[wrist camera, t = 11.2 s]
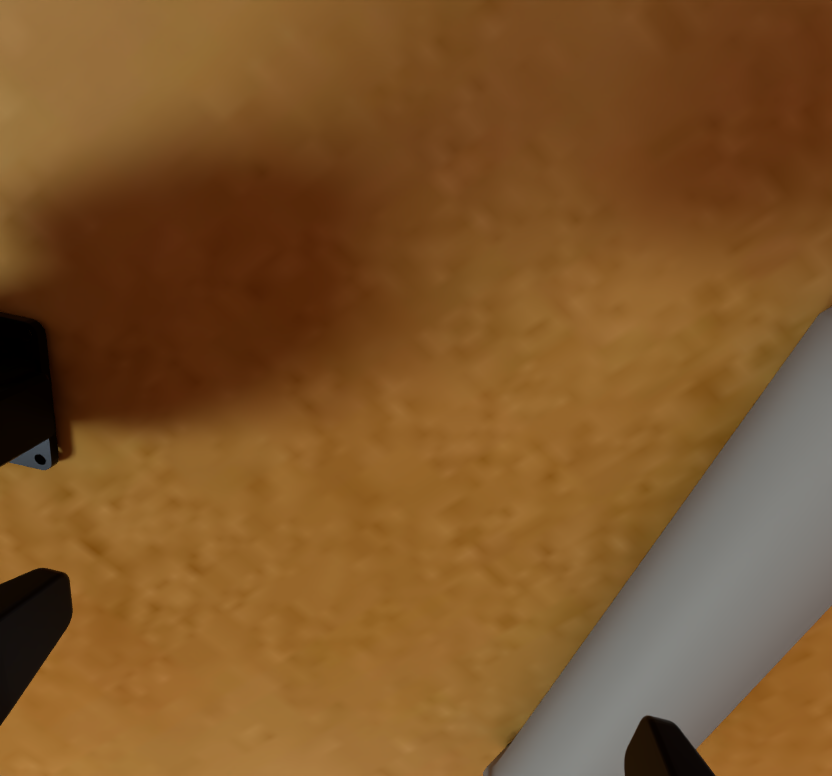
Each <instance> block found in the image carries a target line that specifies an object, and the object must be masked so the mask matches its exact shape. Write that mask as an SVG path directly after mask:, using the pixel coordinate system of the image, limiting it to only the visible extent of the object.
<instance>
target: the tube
mask: <svg viewBox="0 0 832 776" xmlns="http://www.w3.org/2000/svg"><path fill="white" fill-rule="evenodd" d="M831 605H832V307H830V308H828V309H827V310H825V311H823V312H822V313H820V314H819V315H818V316H817V318H816V319H815V321H814V322H813V323H812V325H811V326H810V328H809V329H808V330H807V332H806V333H805V334H804V336H803V337H802V339H801V340H800V341H799V343H798V344H797V346H796V347H795V348H794V350H793V351H792V353H791V354H790V355H789V357H788V358H787V360H786V361H785V362H784V364H783V365H782V367H781V368H780V369H779V371H778V372H777V374H776V375H775V376H774V378H773V379H772V380H771V382H770V383H769V385H768V386H767V387H766V389H765V390H764V392H763V393H762V394H761V396H760V397H759V399H758V400H757V401H756V403H755V404H754V406H753V407H752V408H751V410H750V411H749V413H748V414H747V415H746V417H745V418H744V419H743V421H742V422H741V424H740V425H739V426H738V428H737V429H736V431H735V432H734V433H733V435H732V436H731V438H730V439H729V440H728V442H727V443H726V445H725V446H724V447H723V449H722V450H721V452H720V453H719V454H718V456H717V457H716V458H715V460H714V461H713V463H712V464H711V465H710V467H709V468H708V470H707V471H706V472H705V474H704V475H703V477H702V478H701V479H700V481H699V482H698V484H697V485H696V486H695V488H694V489H693V491H692V492H691V493H690V495H689V496H688V497H687V499H686V500H685V502H684V503H683V504H682V506H681V507H680V509H679V510H678V511H677V513H676V514H675V516H674V517H673V518H672V520H671V521H670V523H669V524H668V525H667V527H666V528H665V530H664V531H663V532H662V534H661V535H660V536H659V538H658V539H657V541H656V542H655V543H654V545H653V546H652V548H651V549H650V550H649V552H648V553H647V555H646V556H645V557H644V559H643V560H642V562H641V563H640V564H639V566H638V567H637V569H636V570H635V571H634V573H633V574H632V575H631V577H630V578H629V580H628V581H627V582H626V584H625V585H624V587H623V588H622V589H621V591H620V592H619V594H618V595H617V596H616V598H615V599H614V601H613V602H612V603H611V605H610V606H609V608H608V609H607V610H606V612H605V613H604V614H603V616H602V617H601V619H600V620H599V621H598V623H597V624H596V626H595V627H594V628H593V630H592V631H591V633H590V634H589V635H588V637H587V638H586V640H585V641H584V642H583V644H582V645H581V647H580V648H579V649H578V651H577V652H576V653H575V655H574V656H573V658H572V659H571V660H570V662H569V663H568V665H567V666H566V667H565V669H564V670H563V672H562V673H561V674H560V676H559V677H558V679H557V680H556V681H555V683H554V684H553V686H552V687H551V688H550V690H549V691H548V692H547V694H546V695H545V697H544V698H543V699H542V701H541V702H540V704H539V705H538V706H537V708H536V709H535V711H534V712H533V713H532V715H531V716H530V718H529V719H528V720H527V722H526V723H525V725H524V726H523V727H522V729H521V730H520V731H519V733H518V734H517V736H516V737H515V738H514V740H513V741H512V743H511V744H508V745H507V747H506V748H505V749H504V750H503V751H502V752H501V753H500V754H499V755H498V756H497V757H496V758H495V759H494V760H493V761H492V762H491V763H490V764H489V765H488V766H487V768H486V769H485V770H484V772H483V776H625V772H624V758H625V752H626V749H627V747H628V745H629V743H630V741H631V739H632V737H633V735H634V733H635V731H636V729H637V727H638V724H639V722H640V721H641V719H642V718H643V717H644V716H646V715H650V716H654V717H658V718H662V719H666V720H670V721H672V722H674V723H675V724H676V725H677V726H678V727H679V728H680V729H681V731H682V732H683V733H684V735H685V736H686V737H687V739H688V740H689V741H690V743H691V744H692V745H693V747H694V748H695V749H696V748H697V747H698V746H699V745H700V744H701V743H702V742H703V741H704V740H705V739H706V738H707V737H708V736H709V735H710V734H711V733H712V732H713V730H714V729H715V728H716V727H717V726H718V725H719V724H720V723H721V722H722V721H723V720H724V719H725V718H726V717H727V716H728V715H729V714H730V712H731V711H732V710H733V709H734V708H735V707H736V706H737V705H738V704H739V703H740V702H741V701H742V700H743V699H744V698H745V697H746V696H747V694H748V693H749V692H750V691H751V690H752V689H753V688H754V687H755V686H756V685H757V684H758V683H759V682H760V681H761V680H762V679H763V677H764V676H765V675H766V674H767V673H768V672H769V671H770V670H771V669H772V668H773V667H774V666H775V665H776V664H777V663H778V662H779V661H780V659H781V658H782V657H783V656H784V655H785V654H786V653H787V652H788V651H789V650H790V649H791V648H792V647H793V646H794V645H795V644H796V643H797V641H798V640H799V639H800V638H801V637H802V636H803V635H804V634H805V633H806V632H807V631H808V630H809V629H810V628H811V627H812V626H813V625H814V623H815V622H816V621H817V620H818V619H819V618H820V617H821V616H822V615H823V614H824V613H825V612H826V611H827V610H828V609H829V608H830V607H831Z"/></svg>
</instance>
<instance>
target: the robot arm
mask: <svg viewBox="0 0 832 776" xmlns="http://www.w3.org/2000/svg"><path fill="white" fill-rule="evenodd" d="M27 329H28V330H29V331H30V332H31V335H32V336H30V334H29V333H28V330H27ZM58 459H59V455H58V446H57V436H56V427H55V417H54V407H53V398H52V388H51V378H50V369H49V359H48V350H47V340H46V333H45V329H44V328H43V326H42V325H41V324H40V323H39V322H38V321H36V320H34V319H31V318H26V317H21V316H17V315H12V314H7V313H3V312H0V467H1V466H3V465H5V464H6V463H8V462H10V463H14V464H19V465H23V466H27V467H32V468H36V469H40V470H47V469H49V468H51V467H52V466H54V465H55V464H57V462H58ZM72 613H73V608H72V598H71V589H70V580H69V577H68V576H67V574H66V573H64V572H60V571H56V570H52V569H48V568H38V569H35V570H32V571H30V572H28V573H25V574H23V575H21V576H18V577H16V578H14V579H11V580H9V581H7V582H4V583H2V584H0V725H1V724H2V723H3V721H4V720H5V718H6V717H7V716H8V714H9V713H10V711H11V710H12V709H13V707H14V706H15V704H16V703H17V701H18V700H19V698H20V697H21V695H22V694H23V692H24V691H25V689H26V688H27V686H28V685H29V684H30V682H31V681H32V679H33V678H34V676H35V675H36V673H37V672H38V670H39V669H40V667H41V666H42V664H43V663H44V661H45V660H46V658H47V657H48V655H49V654H50V652H51V651H52V649H53V648H54V647H55V645H56V644H57V642H58V641H59V639H60V638H61V636H62V635H63V633H64V632H65V630H66V629H67V627H68V625H69V623H70V621H71V618H72ZM624 772H625V776H715V774H714V773H713V772H712V770H711V769H710V768H709V766H708V765H707V764H706V762H705V761H704V760H703V759H702V757H701V756H700V755H699V753H698V752H697V751H696V749H695V748H694V747H693V745H692V744H691V743H690V741H689V740H688V739H687V737H686V736H685V735H684V733H683V732H682V731H681V729H680V728H679V727H678V726H677V725H676V724H675V723H674V722H672V721H670V720H666V719H662V718H658V717H654V716H650V715H646V716H644V717H643V718H642V719H641V721H640V722H639V724H638V727H637V729H636V731H635V733H634V735H633V737H632V739H631V741H630V743H629V745H628V747H627V749H626V752H625V758H624Z"/></svg>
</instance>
